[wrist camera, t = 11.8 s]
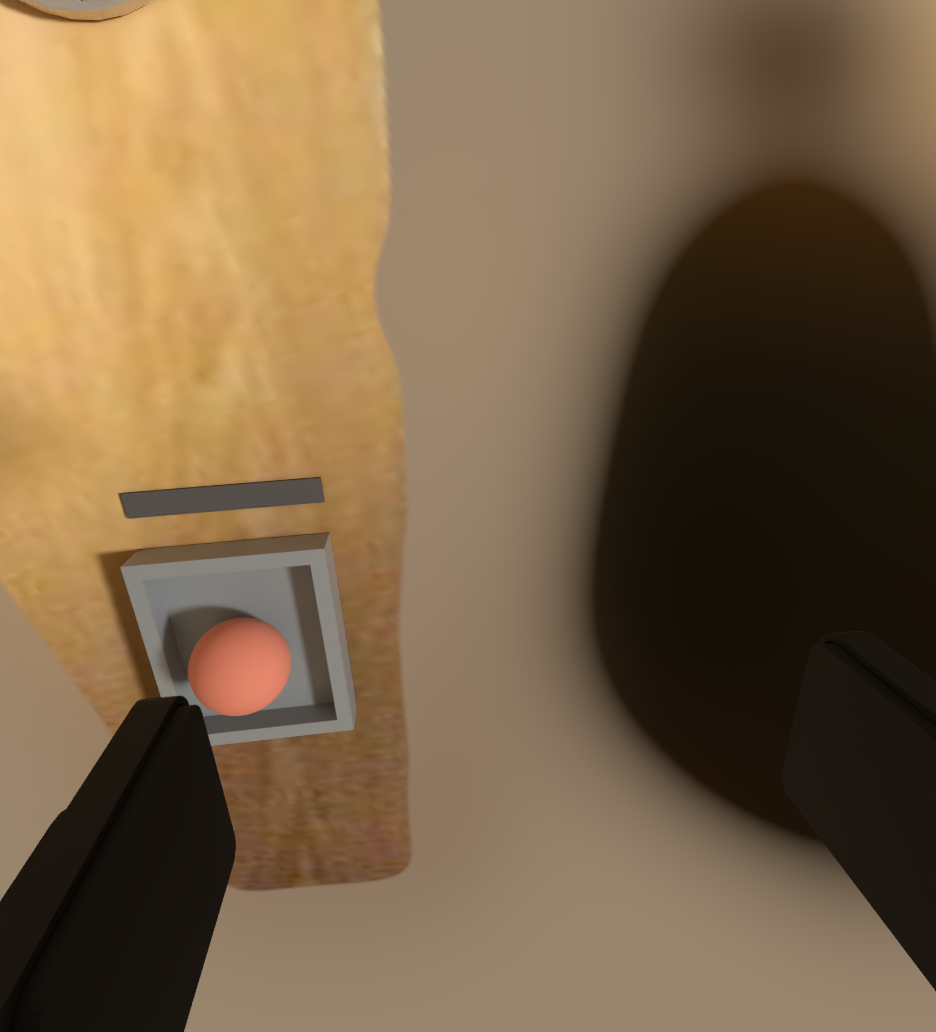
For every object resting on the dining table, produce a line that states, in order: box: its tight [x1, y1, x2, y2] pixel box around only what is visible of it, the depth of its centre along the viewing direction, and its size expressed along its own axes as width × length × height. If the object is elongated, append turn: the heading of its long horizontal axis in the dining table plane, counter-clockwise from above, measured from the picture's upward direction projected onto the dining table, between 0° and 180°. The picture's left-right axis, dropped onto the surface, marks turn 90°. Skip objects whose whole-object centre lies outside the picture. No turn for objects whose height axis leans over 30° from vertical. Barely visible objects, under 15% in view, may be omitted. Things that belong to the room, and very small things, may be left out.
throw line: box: [120, 477, 324, 518], centre depth 35 cm, size 2×12×1 cm, turn 93°
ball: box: [188, 617, 291, 716], centre depth 36 cm, size 6×6×6 cm
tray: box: [120, 533, 357, 746], centre depth 38 cm, size 14×12×2 cm
